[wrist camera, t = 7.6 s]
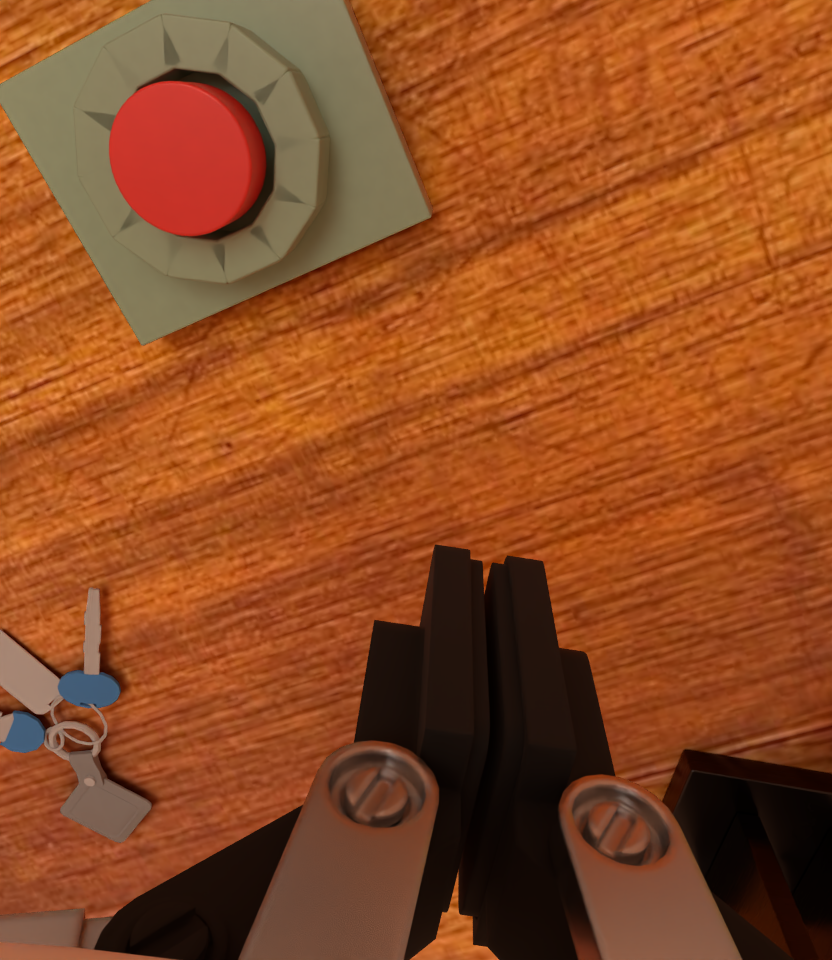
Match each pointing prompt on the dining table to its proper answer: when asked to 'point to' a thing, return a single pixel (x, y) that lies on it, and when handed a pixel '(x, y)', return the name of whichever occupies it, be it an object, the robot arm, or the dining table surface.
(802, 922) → the switch bracket
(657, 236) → the dining table surface
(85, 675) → the key chain
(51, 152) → the control block
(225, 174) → the button
